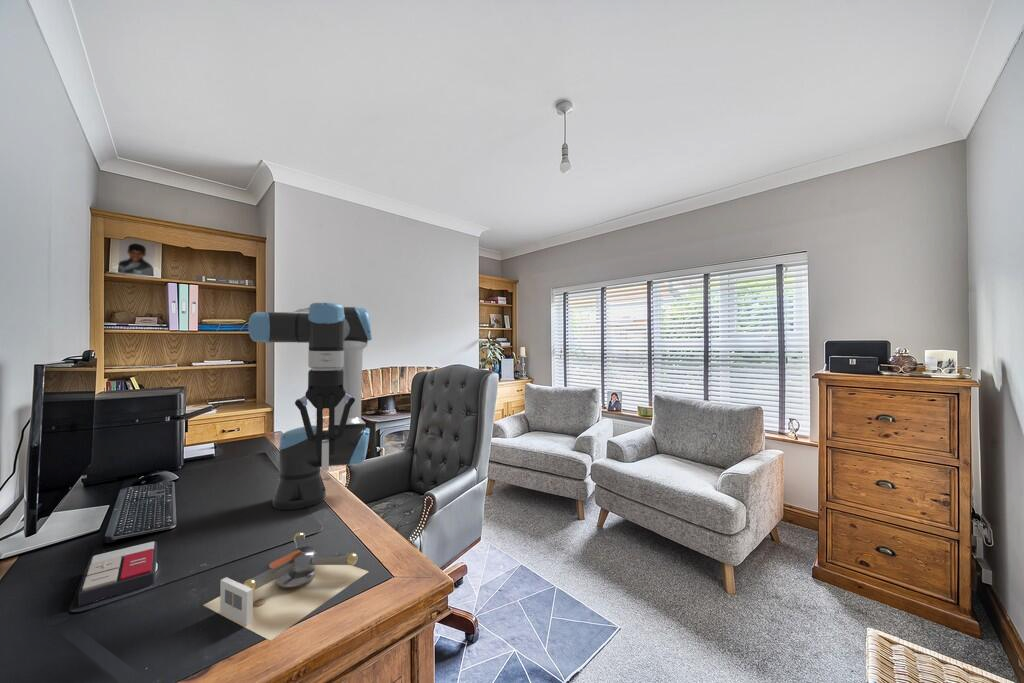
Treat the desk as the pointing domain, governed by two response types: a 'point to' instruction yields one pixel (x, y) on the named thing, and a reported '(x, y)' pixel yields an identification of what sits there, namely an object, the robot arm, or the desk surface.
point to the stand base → (294, 599)
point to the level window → (236, 601)
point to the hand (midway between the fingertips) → (325, 468)
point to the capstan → (298, 566)
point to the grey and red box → (119, 572)
